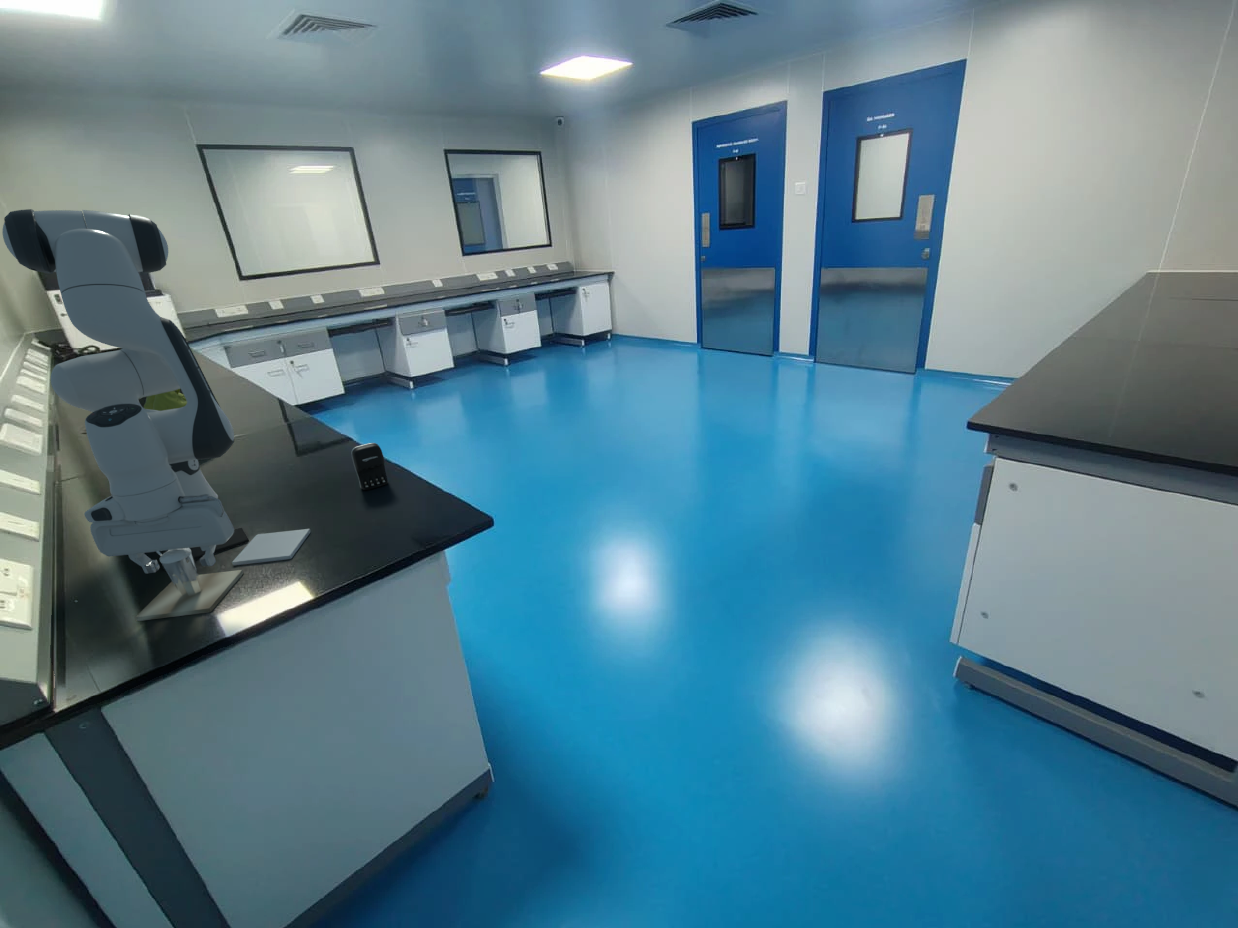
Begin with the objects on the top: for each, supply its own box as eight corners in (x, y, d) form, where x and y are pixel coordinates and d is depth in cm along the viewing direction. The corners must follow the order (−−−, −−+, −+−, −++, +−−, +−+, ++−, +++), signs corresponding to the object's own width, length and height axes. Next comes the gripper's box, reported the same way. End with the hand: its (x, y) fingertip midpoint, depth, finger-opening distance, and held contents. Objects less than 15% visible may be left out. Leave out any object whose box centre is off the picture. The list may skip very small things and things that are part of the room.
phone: (248, 538, 118) (162, 567, 109) (250, 544, 118) (164, 572, 109) (241, 526, 123) (158, 552, 114) (243, 531, 124) (161, 558, 115)
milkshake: (182, 586, 102) (162, 540, 98) (211, 583, 103) (193, 538, 99) (165, 601, 98) (144, 554, 94) (196, 598, 98) (176, 551, 94)
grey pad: (233, 565, 110) (232, 562, 109) (258, 537, 120) (257, 534, 119) (291, 558, 111) (289, 555, 111) (310, 531, 121) (309, 528, 121)
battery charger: (363, 493, 138) (352, 451, 134) (359, 488, 141) (348, 447, 137) (391, 485, 142) (381, 444, 138) (387, 480, 145) (377, 440, 140)
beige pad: (136, 621, 95) (134, 617, 94) (177, 580, 106) (175, 577, 105) (211, 611, 96) (209, 608, 96) (243, 573, 107) (242, 569, 107)
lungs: (230, 451, 171) (203, 376, 162) (170, 467, 161) (137, 388, 151) (209, 435, 187) (183, 365, 177) (153, 448, 177) (122, 376, 167)
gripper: (226, 485, 97) (250, 551, 102) (100, 498, 95) (132, 565, 100) (207, 501, 91) (234, 570, 97) (72, 515, 89) (107, 585, 94)
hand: (181, 567), depth 98 cm, fingers open, 8 cm apart
